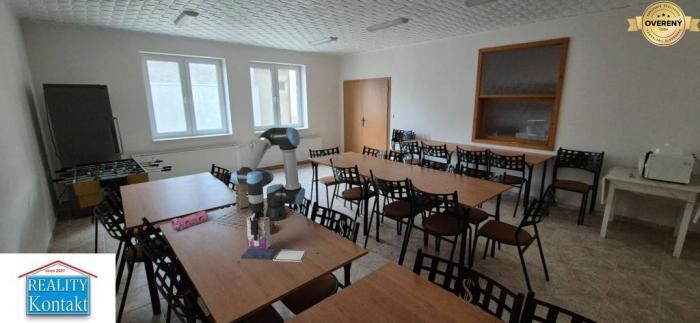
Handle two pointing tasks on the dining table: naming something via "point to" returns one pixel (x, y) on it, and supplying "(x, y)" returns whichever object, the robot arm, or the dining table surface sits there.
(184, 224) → the pencil case
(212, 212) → the dining table surface
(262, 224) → the candy bar box
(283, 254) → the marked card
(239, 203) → the block tower
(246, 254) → the ink pad
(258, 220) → the robot arm
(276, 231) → the cup and saucer
